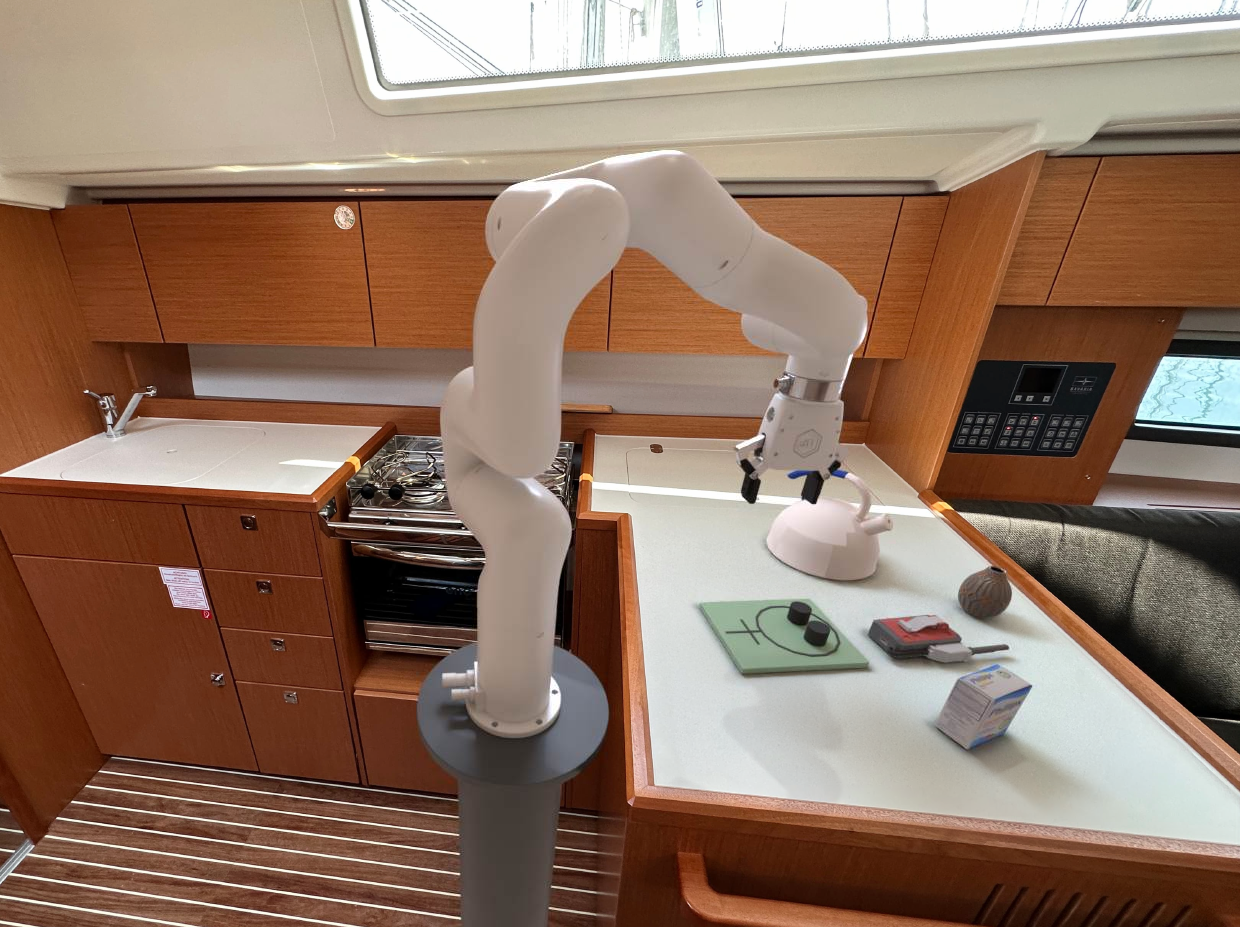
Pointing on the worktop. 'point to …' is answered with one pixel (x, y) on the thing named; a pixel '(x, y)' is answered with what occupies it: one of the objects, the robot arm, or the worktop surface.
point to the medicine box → (982, 705)
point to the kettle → (829, 534)
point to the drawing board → (777, 638)
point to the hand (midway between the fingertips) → (778, 500)
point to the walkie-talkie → (924, 639)
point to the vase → (985, 593)
